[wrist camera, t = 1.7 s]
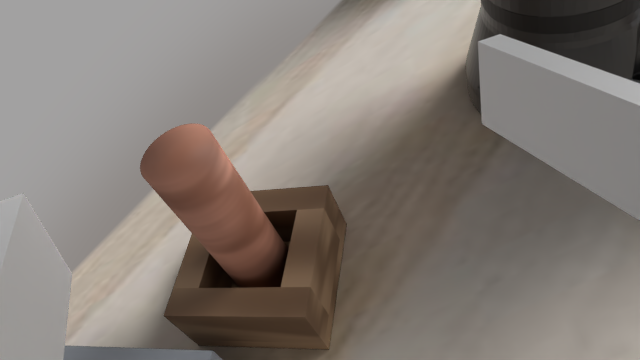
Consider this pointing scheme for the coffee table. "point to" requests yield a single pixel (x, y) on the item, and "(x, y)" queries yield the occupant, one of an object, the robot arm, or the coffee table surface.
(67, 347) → the tray
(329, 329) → the socket block
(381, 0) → the coffee table surface
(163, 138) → the dowel
